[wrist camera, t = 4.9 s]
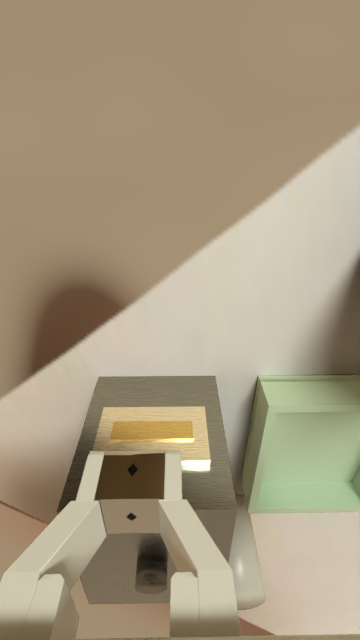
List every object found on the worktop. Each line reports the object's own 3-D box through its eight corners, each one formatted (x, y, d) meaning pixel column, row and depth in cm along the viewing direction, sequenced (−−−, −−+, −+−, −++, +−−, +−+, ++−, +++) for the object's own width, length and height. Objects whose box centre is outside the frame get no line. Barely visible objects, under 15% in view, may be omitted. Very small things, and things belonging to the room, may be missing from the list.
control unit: (208, 467, 27) (224, 624, 18) (114, 468, 27) (85, 626, 18) (215, 370, 22) (242, 526, 13) (97, 370, 21) (46, 529, 13)
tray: (353, 479, 28) (370, 511, 26) (241, 480, 28) (247, 513, 26) (401, 374, 22) (429, 404, 20) (258, 375, 22) (268, 405, 19)
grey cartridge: (245, 517, 31) (262, 609, 25) (204, 517, 31) (211, 610, 25) (249, 493, 29) (269, 587, 23) (206, 494, 29) (214, 588, 23)
